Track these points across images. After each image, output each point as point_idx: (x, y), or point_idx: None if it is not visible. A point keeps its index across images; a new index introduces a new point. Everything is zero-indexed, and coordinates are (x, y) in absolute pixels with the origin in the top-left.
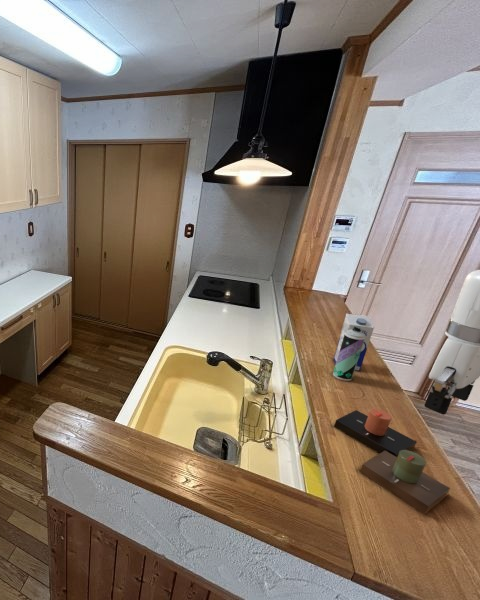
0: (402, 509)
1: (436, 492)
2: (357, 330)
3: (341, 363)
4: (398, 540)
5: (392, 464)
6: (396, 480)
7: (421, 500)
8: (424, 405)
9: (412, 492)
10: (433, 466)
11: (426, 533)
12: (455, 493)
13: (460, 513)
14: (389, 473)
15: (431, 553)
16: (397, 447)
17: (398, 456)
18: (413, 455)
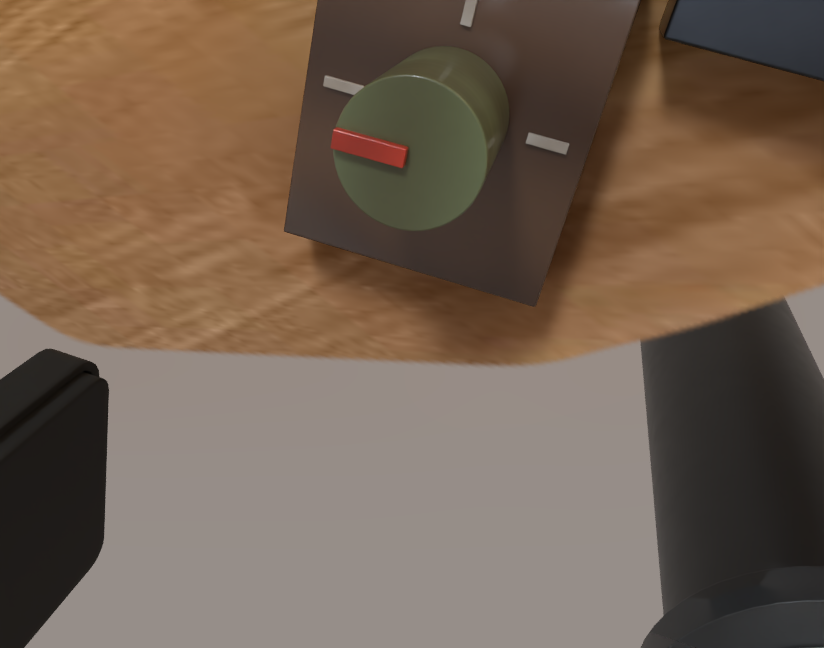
0: (250, 133)
1: (431, 256)
2: None
3: None
4: (50, 145)
5: (504, 37)
6: (344, 85)
7: (295, 205)
8: (51, 350)
9: (320, 165)
10: (806, 222)
11: (194, 225)
12: (605, 313)
13: (456, 326)
14: (387, 40)
15: (106, 245)
16: (775, 25)
17: (383, 74)
18: (441, 158)
